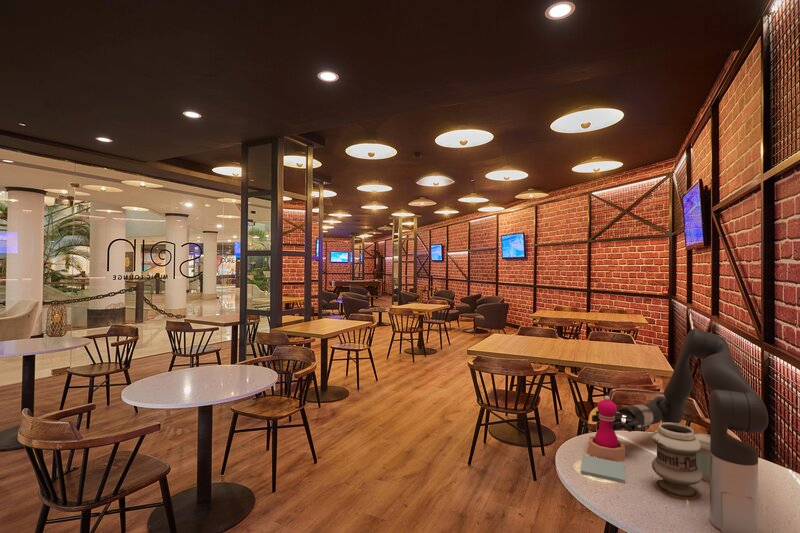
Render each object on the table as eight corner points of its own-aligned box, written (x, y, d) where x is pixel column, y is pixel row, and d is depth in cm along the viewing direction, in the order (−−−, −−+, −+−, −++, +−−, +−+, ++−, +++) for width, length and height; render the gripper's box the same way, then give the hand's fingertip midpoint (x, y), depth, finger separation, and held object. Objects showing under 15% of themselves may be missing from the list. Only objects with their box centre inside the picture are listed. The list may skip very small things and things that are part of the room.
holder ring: (625, 464, 134) (625, 452, 134) (587, 457, 139) (588, 445, 139) (624, 451, 144) (624, 439, 144) (589, 444, 149) (589, 433, 149)
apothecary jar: (642, 484, 121) (643, 423, 121) (666, 475, 127) (667, 417, 127) (686, 505, 111) (687, 438, 111) (710, 495, 116) (711, 431, 116)
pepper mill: (589, 451, 143) (590, 394, 143) (604, 448, 146) (605, 391, 146) (608, 460, 136) (608, 400, 136) (623, 456, 139) (623, 397, 139)
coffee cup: (732, 486, 121) (733, 445, 121) (700, 483, 123) (700, 442, 123) (716, 472, 129) (717, 434, 129) (686, 469, 131) (686, 431, 131)
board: (625, 483, 122) (625, 479, 122) (580, 473, 127) (580, 470, 127) (623, 466, 133) (623, 463, 133) (582, 457, 138) (582, 455, 138)
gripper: (617, 400, 153) (585, 405, 147) (655, 412, 140) (621, 419, 134) (617, 420, 153) (585, 426, 147) (654, 434, 140) (620, 442, 134)
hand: (602, 422), depth 140 cm, fingers open, 7 cm apart
